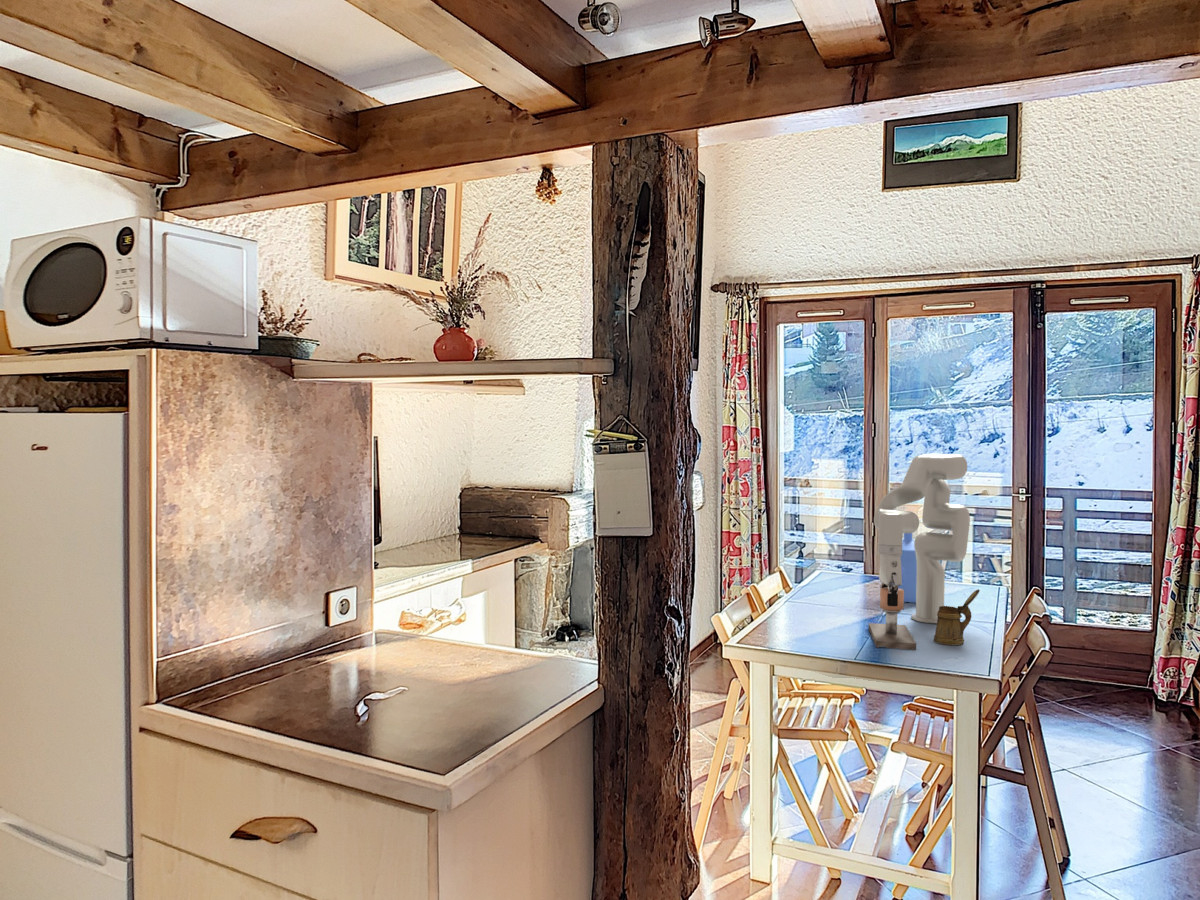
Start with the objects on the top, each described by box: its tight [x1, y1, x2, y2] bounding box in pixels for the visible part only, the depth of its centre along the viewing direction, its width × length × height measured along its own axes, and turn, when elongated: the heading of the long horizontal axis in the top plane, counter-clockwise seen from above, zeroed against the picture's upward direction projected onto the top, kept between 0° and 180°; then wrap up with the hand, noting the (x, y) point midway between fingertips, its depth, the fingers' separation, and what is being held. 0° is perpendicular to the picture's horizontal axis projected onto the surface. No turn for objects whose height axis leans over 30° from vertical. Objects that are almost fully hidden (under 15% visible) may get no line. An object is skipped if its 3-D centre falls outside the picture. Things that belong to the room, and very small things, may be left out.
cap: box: [879, 587, 905, 611], centre depth 276 cm, size 7×7×6 cm
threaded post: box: [882, 609, 902, 634], centre depth 276 cm, size 6×6×8 cm
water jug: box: [898, 533, 917, 604], centre depth 337 cm, size 16×16×28 cm
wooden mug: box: [933, 589, 980, 646], centre depth 271 cm, size 9×14×18 cm, turn 69°
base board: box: [868, 622, 917, 651], centre depth 276 cm, size 12×24×2 cm, turn 168°
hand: (888, 603), depth 276 cm, fingers closed on cap, 7 cm apart
